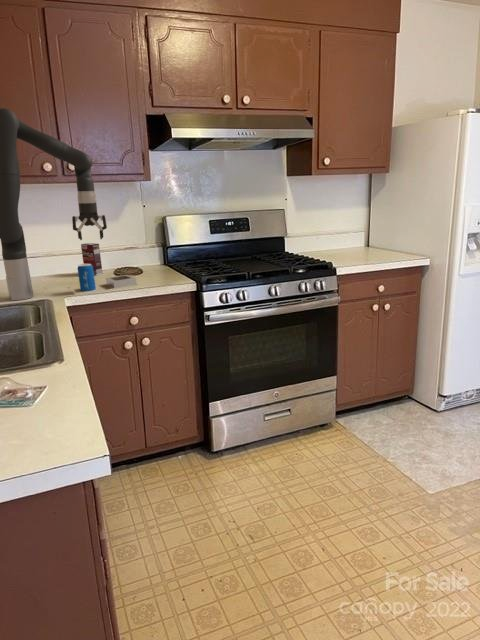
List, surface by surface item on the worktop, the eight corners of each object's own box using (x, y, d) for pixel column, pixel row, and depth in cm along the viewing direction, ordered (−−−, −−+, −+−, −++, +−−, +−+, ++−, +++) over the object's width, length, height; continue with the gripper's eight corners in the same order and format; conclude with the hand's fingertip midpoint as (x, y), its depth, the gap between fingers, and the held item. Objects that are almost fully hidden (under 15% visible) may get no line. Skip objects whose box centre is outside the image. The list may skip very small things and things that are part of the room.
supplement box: (84, 274, 250) (80, 244, 245) (91, 272, 254) (87, 242, 249) (96, 275, 246) (92, 244, 241) (103, 273, 250) (99, 243, 245)
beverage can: (80, 293, 209) (76, 266, 206) (81, 290, 216) (78, 264, 212) (95, 292, 211) (91, 265, 207) (96, 289, 217) (93, 262, 213)
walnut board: (106, 291, 211) (105, 289, 211) (98, 287, 219) (98, 285, 219) (138, 285, 219) (137, 284, 219) (130, 282, 227) (129, 280, 227)
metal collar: (114, 288, 213) (113, 281, 212) (106, 284, 221) (105, 278, 220) (136, 284, 218) (135, 278, 217) (128, 280, 227) (127, 274, 226)
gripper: (69, 202, 202) (73, 241, 207) (104, 201, 206) (107, 239, 210) (70, 202, 209) (75, 239, 214) (104, 201, 213) (108, 237, 217)
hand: (91, 239), depth 212 cm, fingers open, 8 cm apart
